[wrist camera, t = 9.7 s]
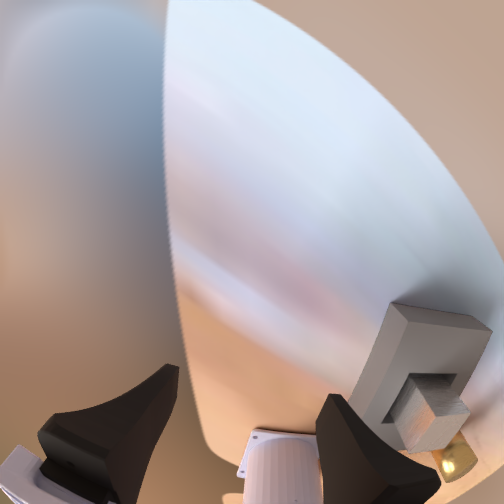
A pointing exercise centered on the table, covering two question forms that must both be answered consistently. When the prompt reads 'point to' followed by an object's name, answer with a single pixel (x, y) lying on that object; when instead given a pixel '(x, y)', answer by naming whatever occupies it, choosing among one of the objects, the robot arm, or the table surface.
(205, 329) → the table surface
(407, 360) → the bore block
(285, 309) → the table surface
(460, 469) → the round bit
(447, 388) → the square bit
